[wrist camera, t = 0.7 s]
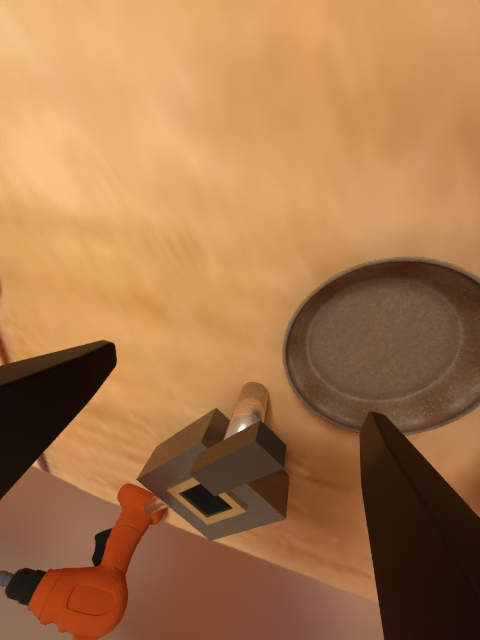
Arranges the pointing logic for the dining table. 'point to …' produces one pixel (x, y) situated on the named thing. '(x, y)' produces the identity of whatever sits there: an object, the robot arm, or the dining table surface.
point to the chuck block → (195, 500)
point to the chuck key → (242, 447)
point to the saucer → (388, 345)
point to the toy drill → (88, 577)
